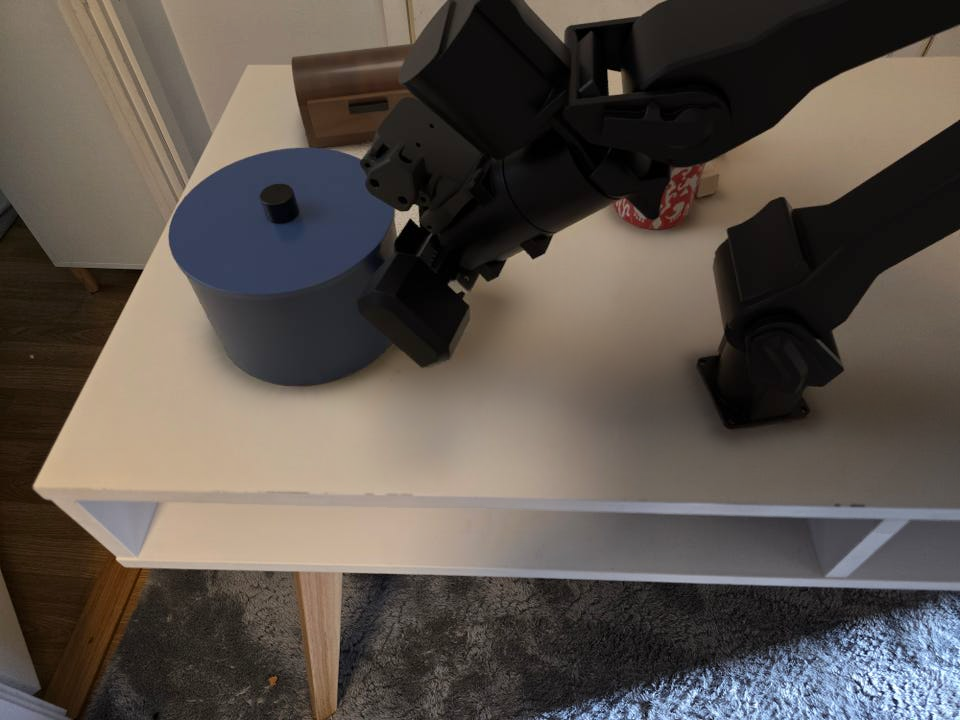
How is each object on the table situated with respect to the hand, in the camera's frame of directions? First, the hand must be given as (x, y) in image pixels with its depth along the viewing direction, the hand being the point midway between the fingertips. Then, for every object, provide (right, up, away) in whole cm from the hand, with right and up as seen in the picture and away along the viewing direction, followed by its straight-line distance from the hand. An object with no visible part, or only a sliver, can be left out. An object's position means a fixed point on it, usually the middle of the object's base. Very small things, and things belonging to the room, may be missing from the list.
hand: (389, 277), depth 51 cm
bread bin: (-5, +20, +25) cm, 33 cm away
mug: (+23, +10, +16) cm, 30 cm away
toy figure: (+28, +15, +20) cm, 38 cm away
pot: (-7, -2, +8) cm, 11 cm away
